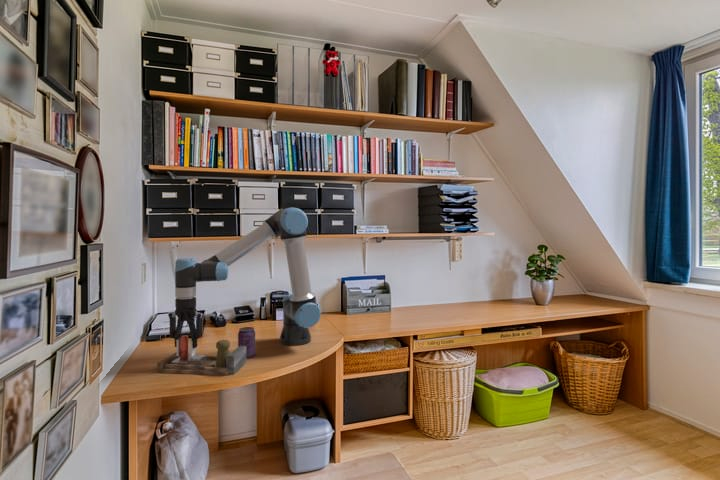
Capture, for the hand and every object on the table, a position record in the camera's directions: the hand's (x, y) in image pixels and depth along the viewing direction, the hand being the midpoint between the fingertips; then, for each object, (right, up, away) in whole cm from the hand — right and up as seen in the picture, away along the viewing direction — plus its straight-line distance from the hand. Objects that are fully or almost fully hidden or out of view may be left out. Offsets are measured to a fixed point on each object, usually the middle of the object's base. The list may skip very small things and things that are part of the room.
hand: (186, 355), depth 152 cm
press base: (+7, -5, -1) cm, 9 cm away
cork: (+15, -5, -1) cm, 16 cm away
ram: (+2, -3, 0) cm, 4 cm away
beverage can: (+21, -4, +12) cm, 24 cm away
